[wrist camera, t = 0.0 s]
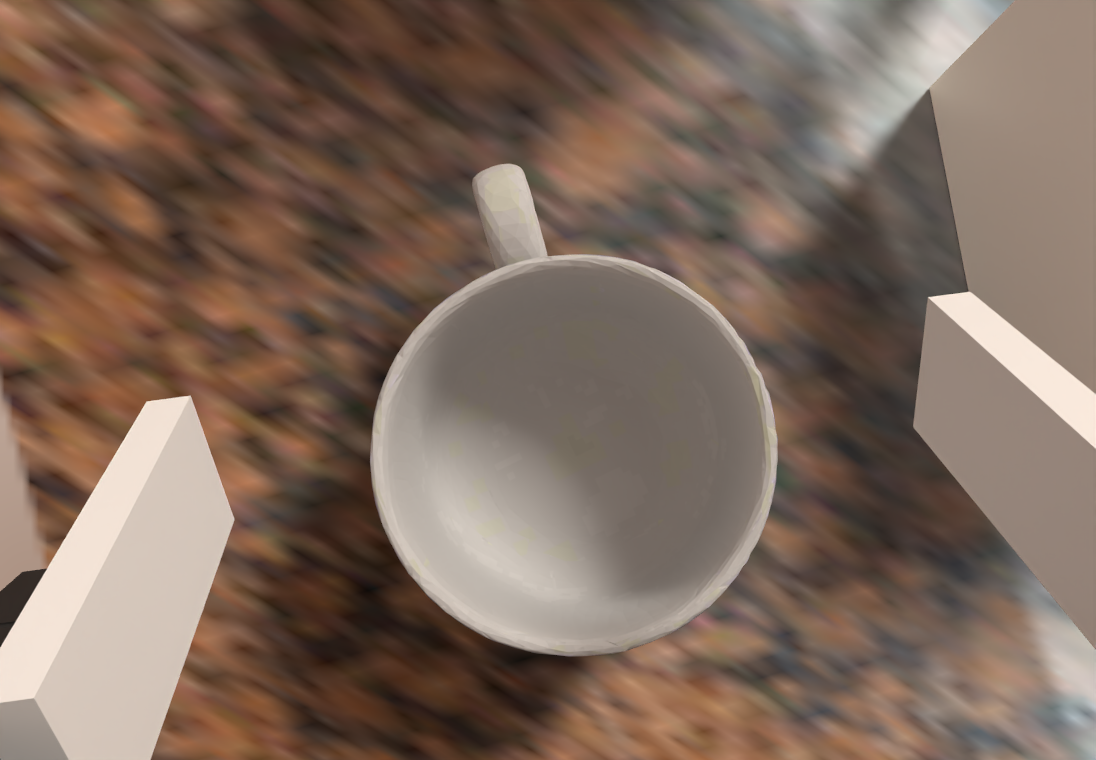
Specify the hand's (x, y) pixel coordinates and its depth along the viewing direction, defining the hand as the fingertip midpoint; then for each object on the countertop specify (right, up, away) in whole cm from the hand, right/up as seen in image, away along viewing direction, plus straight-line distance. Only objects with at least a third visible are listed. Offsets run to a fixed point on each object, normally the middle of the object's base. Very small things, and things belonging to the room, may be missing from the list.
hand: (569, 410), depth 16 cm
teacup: (0, -1, +16) cm, 16 cm away
